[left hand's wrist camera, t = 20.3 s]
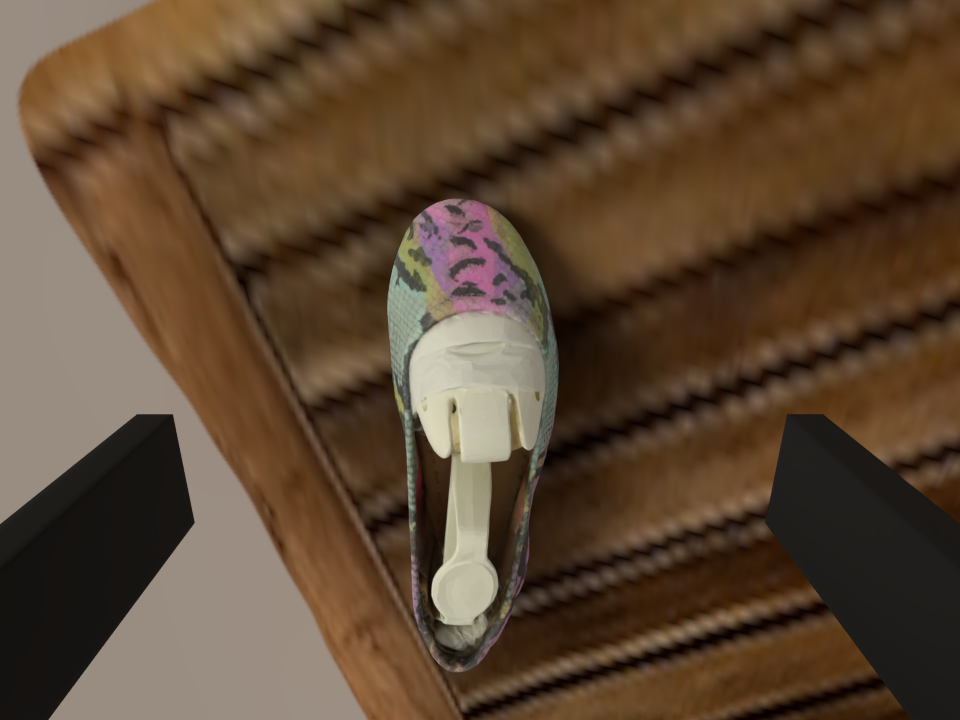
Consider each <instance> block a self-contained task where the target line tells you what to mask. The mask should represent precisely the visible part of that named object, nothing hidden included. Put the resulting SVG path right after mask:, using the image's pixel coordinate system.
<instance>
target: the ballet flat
mask: <svg viewBox="0 0 960 720" xmlns="http://www.w3.org/2000/svg"><path fill="white" fill-rule="evenodd" d="M387 312H388V325H389V338H390V348H391V362H392V378H393V384H394V391H395V400H396V403H397V407H398V411H399V414H400V417H401V420H402V425H403V430H404V433H405V440H406V450H407V473H408V499H409V525H410V543H411V560H412V595H413V605H414V611H415V617H416V620H417V624H418V627H419V630H420V632H421V634H422V636H423V638H424V641H425V643H426V645H427V647H428V648H429V650H430V653H431V655H432V656H433V658H434V659H435V660H436V661H437V662H438V663H439V664H440V665H441V666H442V667H443V668H444V669H446V670H448V671H451V672H464V671H467V670H470V669H472V668H473V667H475V666H476V665H477V664H478V663H479V662H480V661H481V660H482V659H483V658H484V656H485V655H486V654H487V652H488V650H489V649H490V647H491V646H492V645H493V644H494V643H495V642H496V641H497V639H498V637H499V636H500V634H501V632H502V631H503V628H504V626H505V624H506V622H507V620H508V618H509V616H510V614H511V611H512V608H513V605H514V601H515V599H516V597H517V596H518V594H519V592H520V590H521V588H522V586H523V583H524V580H525V577H526V573H527V566H528V558H529V529H528V524H529V517H530V510H531V505H532V500H533V494H534V491H535V487H536V485H537V482H538V479H539V476H540V473H541V470H542V467H543V464H544V460H545V457H546V452H547V447H548V444H549V440H550V437H551V433H552V429H553V423H554V417H555V408H556V401H557V389H558V377H559V359H558V349H557V342H556V337H555V331H554V326H553V321H552V316H551V311H550V306H549V302H548V298H547V295H546V291H545V288H544V285H543V282H542V279H541V276H540V273H539V271H538V268H537V266H536V264H535V262H534V260H533V258H532V256H531V254H530V253H529V251H528V249H527V247H526V245H525V244H524V242H523V240H522V238H521V237H520V235H519V233H518V232H517V231H516V229H515V228H514V227H513V226H512V224H511V223H510V222H509V221H508V220H507V219H506V218H505V217H504V216H503V215H501V214H500V213H499V212H498V211H496V210H495V209H493V208H491V207H490V206H488V205H485V204H483V203H480V202H478V201H475V200H470V199H448V200H444V201H441V202H438V203H435V204H434V205H432V206H430V207H428V208H427V209H425V210H424V211H423V212H422V213H420V214H419V215H418V216H417V217H416V218H415V219H414V220H413V221H412V223H411V224H410V226H409V228H408V230H407V232H406V234H405V236H404V238H403V240H402V243H401V245H400V248H399V251H398V253H397V256H396V259H395V263H394V266H393V270H392V275H391V280H390V286H389V292H388V306H387Z"/></svg>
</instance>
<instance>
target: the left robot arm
mask: <svg viewBox="0 0 960 720" xmlns="http://www.w3.org/2000/svg"><path fill="white" fill-rule="evenodd" d="M194 523H195V522H194V517H193V512H192V507H191V502H190V497H189V492H188V488H187V482H186V477H185V472H184V467H183V462H182V458H181V453H180V448H179V443H178V438H177V433H176V428H175V423H174V418H173V414H137V415H136V416H134V417H133V418H132V419H131V420H129V421H128V422H127V423H126V424H124V425H123V426H122V427H121V428H119V429H118V430H117V431H116V432H115V433H113V434H112V435H111V436H110V437H108V438H107V439H106V440H105V441H103V442H102V443H101V444H100V445H98V446H97V447H96V448H95V449H93V450H92V451H91V452H90V453H88V454H87V455H86V456H85V457H83V458H82V459H81V460H80V461H78V462H77V463H76V464H75V465H73V466H72V467H71V468H70V469H68V470H67V471H66V472H65V473H63V474H62V475H61V476H60V477H58V478H57V479H56V480H55V481H53V482H52V483H51V484H50V485H49V486H47V487H46V488H45V489H44V490H42V491H41V492H40V493H39V494H37V495H36V496H35V497H34V498H32V499H31V500H30V501H29V502H27V503H26V504H25V505H24V506H22V507H21V508H20V509H19V510H17V511H16V512H15V513H14V514H12V515H11V516H10V517H9V518H7V519H6V520H5V521H4V522H3V523H1V524H0V720H48V719H49V718H50V717H51V715H52V714H53V713H54V711H55V710H56V709H57V707H58V706H59V705H60V703H61V702H62V701H63V699H64V698H65V697H66V695H67V694H68V692H69V691H70V690H71V688H72V687H73V686H74V684H75V683H76V682H77V680H78V679H79V678H80V676H81V675H82V674H83V672H84V671H85V670H86V668H87V667H88V666H89V664H90V663H91V662H92V660H93V659H94V658H95V656H96V655H97V654H98V652H99V651H100V649H101V648H102V647H103V645H104V644H105V643H106V641H107V640H108V639H109V637H110V636H111V635H112V633H113V632H114V631H115V629H116V628H117V627H118V625H119V624H120V623H121V621H122V620H123V619H124V617H125V616H126V615H127V613H128V612H129V610H130V609H131V608H132V606H133V605H134V604H135V602H136V601H137V600H138V598H139V597H140V596H141V594H142V593H143V592H144V590H145V589H146V588H147V586H148V585H149V584H150V582H151V581H152V580H153V578H154V577H155V576H156V574H157V573H158V571H159V570H160V569H161V567H162V566H163V565H164V563H165V562H166V561H167V559H168V558H169V557H170V555H171V554H172V553H173V551H174V550H175V549H176V547H177V546H178V545H179V543H180V542H181V541H182V539H183V538H184V536H185V535H186V534H187V532H188V531H189V530H190V528H191V527H192V526H193V524H194ZM765 523H766V524H767V526H768V527H769V528H770V530H771V531H772V532H773V534H774V535H775V536H776V538H777V539H778V541H779V542H780V543H781V545H782V546H783V547H784V549H785V550H786V551H787V553H788V554H789V555H790V557H791V558H792V559H793V561H794V562H795V563H796V565H797V566H798V567H799V569H800V570H801V571H802V573H803V574H804V576H805V577H806V578H807V580H808V581H809V582H810V584H811V585H812V586H813V588H814V589H815V590H816V592H817V593H818V594H819V596H820V597H821V598H822V600H823V601H824V602H825V604H826V605H827V606H828V608H829V609H830V610H831V612H832V613H833V615H834V616H835V617H836V619H837V620H838V621H839V623H840V624H841V625H842V627H843V628H844V629H845V631H846V632H847V633H848V635H849V636H850V637H851V639H852V640H853V641H854V643H855V644H856V645H857V647H858V648H859V650H860V651H861V652H862V654H863V655H864V656H865V658H866V659H867V660H868V662H869V663H870V664H871V666H872V667H873V668H874V670H875V671H876V672H877V674H878V675H879V676H880V678H881V679H882V680H883V682H884V683H885V684H886V686H887V687H888V689H889V690H890V691H891V693H892V694H893V695H894V697H895V698H896V699H897V701H898V702H899V703H900V705H901V706H902V707H903V709H904V710H905V711H906V713H907V714H908V715H909V717H910V718H911V719H912V720H960V524H959V523H958V522H956V521H955V520H954V519H953V518H951V517H950V516H949V515H948V514H946V513H945V512H944V511H943V510H941V509H940V508H939V507H938V506H936V505H935V504H934V503H933V502H931V501H930V500H929V499H928V498H926V497H925V496H924V495H923V494H921V493H920V492H919V491H918V490H916V489H915V488H914V487H913V486H911V485H910V484H909V483H908V482H907V481H905V480H904V479H903V478H902V477H900V476H899V475H898V474H897V473H895V472H894V471H893V470H892V469H890V468H889V467H888V466H887V465H885V464H884V463H883V462H882V461H880V460H879V459H878V458H877V457H875V456H874V455H873V454H872V453H870V452H869V451H868V450H867V449H865V448H864V447H863V446H862V445H860V444H859V443H858V442H857V441H855V440H854V439H853V438H852V437H850V436H849V435H848V434H847V433H846V432H844V431H843V430H842V429H841V428H839V427H838V426H837V425H836V424H834V423H833V422H832V421H831V420H829V419H828V418H827V417H826V416H824V415H823V414H787V418H786V423H785V428H784V433H783V438H782V443H781V448H780V452H779V457H778V462H777V467H776V472H775V477H774V482H773V487H772V492H771V497H770V502H769V507H768V512H767V517H766V522H765Z"/></svg>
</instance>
